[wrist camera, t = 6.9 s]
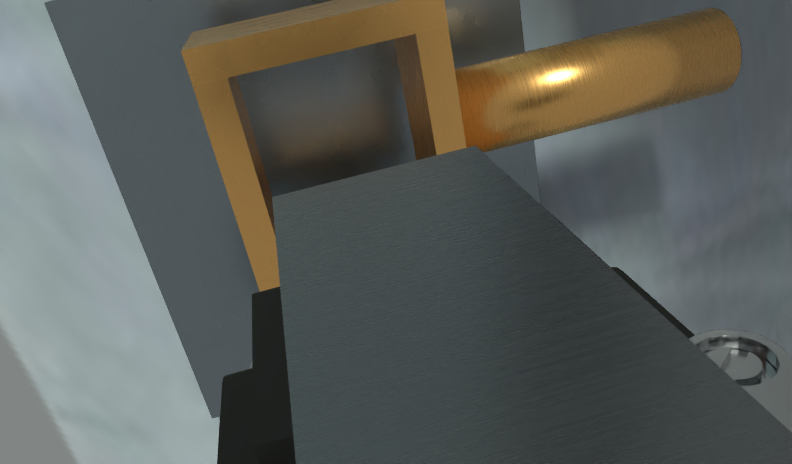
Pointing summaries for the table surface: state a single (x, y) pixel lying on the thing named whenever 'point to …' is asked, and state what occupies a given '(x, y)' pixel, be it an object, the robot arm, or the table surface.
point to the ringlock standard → (333, 117)
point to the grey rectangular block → (485, 335)
